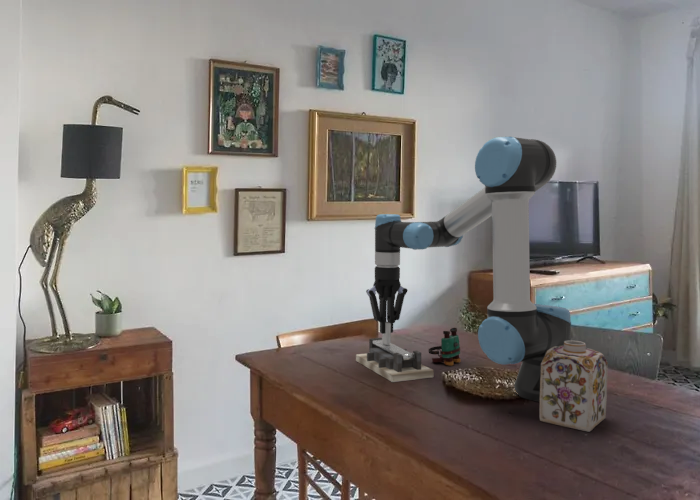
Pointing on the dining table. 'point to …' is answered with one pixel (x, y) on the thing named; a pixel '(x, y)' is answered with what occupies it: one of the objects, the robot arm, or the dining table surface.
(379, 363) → the heatsink mount
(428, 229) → the robot arm
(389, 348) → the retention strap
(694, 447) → the dining table surface
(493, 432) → the dining table surface
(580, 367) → the decorative jar
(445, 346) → the binoculars
